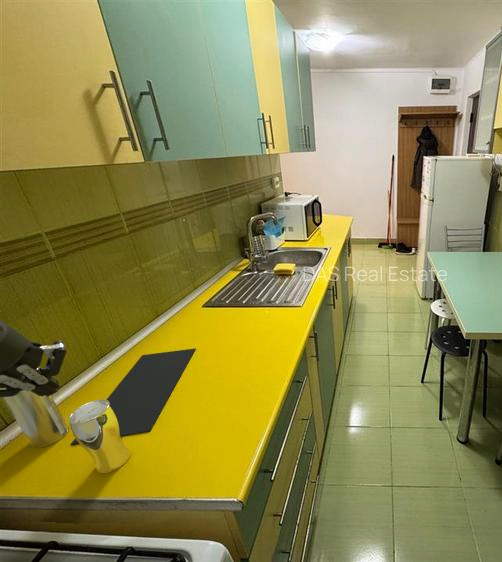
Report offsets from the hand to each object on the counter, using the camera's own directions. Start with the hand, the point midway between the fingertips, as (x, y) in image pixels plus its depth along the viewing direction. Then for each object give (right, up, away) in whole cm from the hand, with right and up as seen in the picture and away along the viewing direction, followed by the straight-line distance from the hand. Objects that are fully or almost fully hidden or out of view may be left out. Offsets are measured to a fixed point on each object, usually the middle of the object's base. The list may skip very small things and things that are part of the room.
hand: (52, 390), depth 55 cm
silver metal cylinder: (-22, -19, +20) cm, 35 cm away
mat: (-10, -12, +36) cm, 39 cm away
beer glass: (-1, -21, +14) cm, 25 cm away
